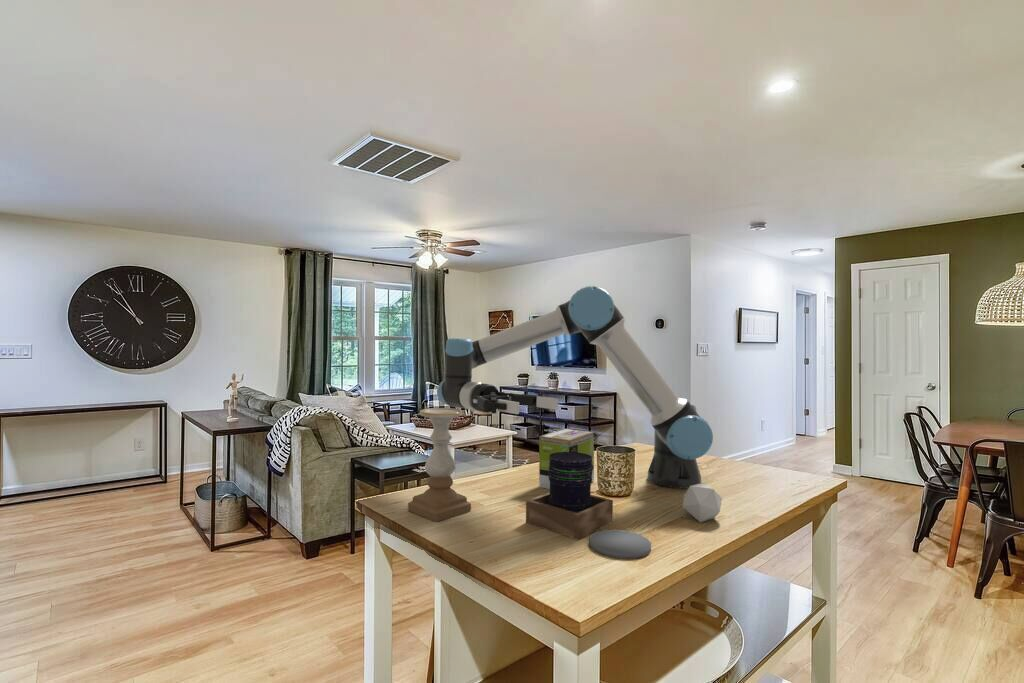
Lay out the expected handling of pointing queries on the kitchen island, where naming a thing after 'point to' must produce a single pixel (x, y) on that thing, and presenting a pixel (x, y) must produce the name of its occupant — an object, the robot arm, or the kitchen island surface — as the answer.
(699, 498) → the die
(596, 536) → the rubber pad
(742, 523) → the kitchen island surface
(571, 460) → the dark blue cylinder
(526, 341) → the robot arm
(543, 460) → the tea box
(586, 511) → the walnut open box
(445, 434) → the candle holder
